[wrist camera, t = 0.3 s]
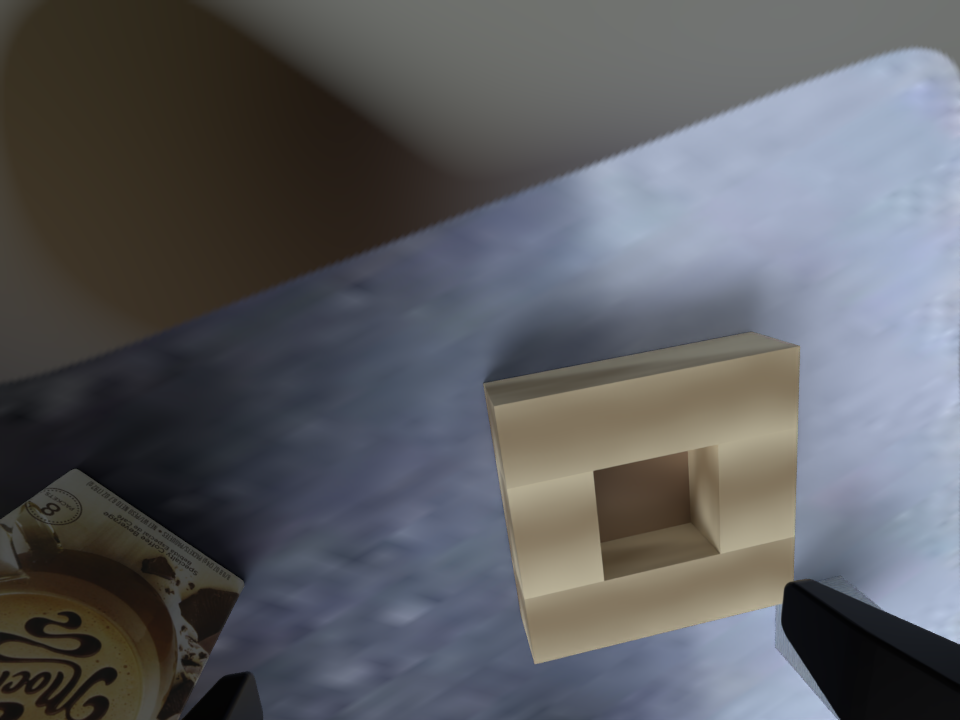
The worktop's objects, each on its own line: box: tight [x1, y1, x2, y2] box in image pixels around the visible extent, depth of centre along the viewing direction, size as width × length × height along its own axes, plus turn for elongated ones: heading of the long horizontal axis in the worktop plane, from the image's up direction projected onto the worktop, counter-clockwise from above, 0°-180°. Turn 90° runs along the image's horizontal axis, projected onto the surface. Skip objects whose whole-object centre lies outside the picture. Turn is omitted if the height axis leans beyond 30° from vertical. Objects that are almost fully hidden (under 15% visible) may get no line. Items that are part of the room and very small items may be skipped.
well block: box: [483, 332, 800, 664], centre depth 23 cm, size 13×13×3 cm
